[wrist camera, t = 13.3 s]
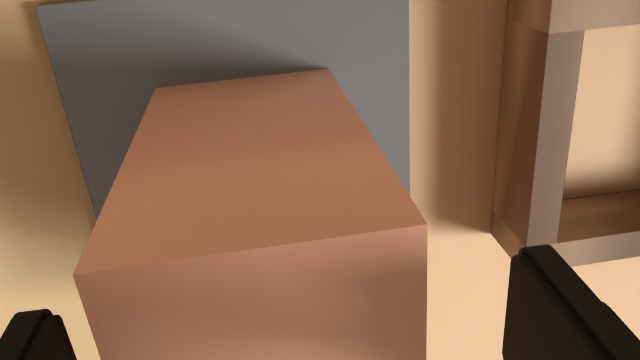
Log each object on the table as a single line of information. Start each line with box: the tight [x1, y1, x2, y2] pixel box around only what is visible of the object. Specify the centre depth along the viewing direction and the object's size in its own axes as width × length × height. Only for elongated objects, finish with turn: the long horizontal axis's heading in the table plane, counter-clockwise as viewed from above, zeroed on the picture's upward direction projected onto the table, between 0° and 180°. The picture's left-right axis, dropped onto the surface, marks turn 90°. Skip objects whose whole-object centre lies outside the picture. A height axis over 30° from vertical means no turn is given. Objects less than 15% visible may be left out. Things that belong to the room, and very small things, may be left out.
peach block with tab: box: [73, 68, 427, 360], centre depth 16 cm, size 6×9×11 cm, turn 4°
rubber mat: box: [35, 0, 410, 219], centre depth 21 cm, size 12×12×1 cm
